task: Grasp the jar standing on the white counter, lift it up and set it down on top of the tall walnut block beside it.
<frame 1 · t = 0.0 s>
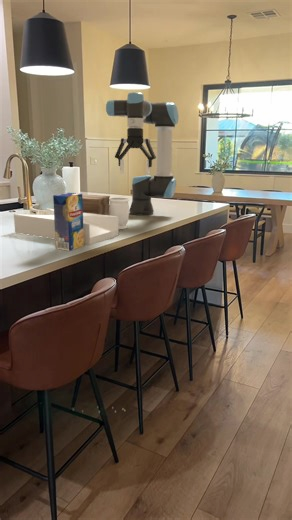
hand: (134, 173, 199), 28 cm above the kitchen island, tool pointing down, fingers open, 13 cm apart
white open tray: (66, 235, 197), on the kitchen island
jar: (119, 228, 212), on the kitchen island
walnut block: (92, 226, 216), on the kitchen island
blue cardboard box: (70, 247, 172), on the kitchen island
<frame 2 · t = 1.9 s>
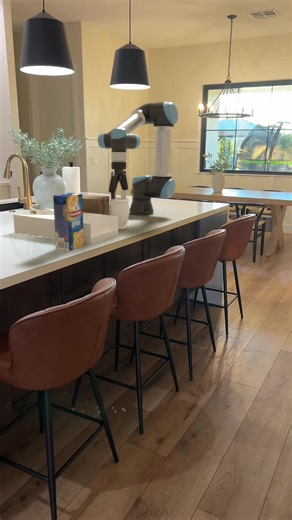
hand: (118, 204, 208), 12 cm above the kitchen island, tool pointing down, fingers open, 13 cm apart
nothing on the kitchen island moved.
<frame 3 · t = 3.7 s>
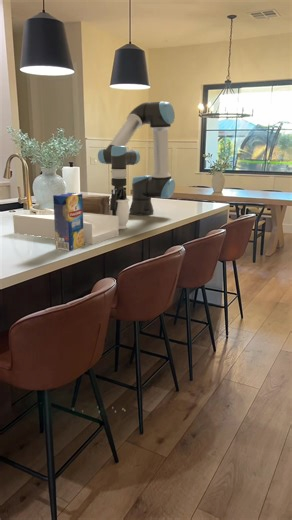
hand: (119, 221, 211), 3 cm above the kitchen island, tool pointing down, fingers closed on jar, 10 cm apart
jar: (119, 228, 212), on the kitchen island, touching gripper
everything else where it was.
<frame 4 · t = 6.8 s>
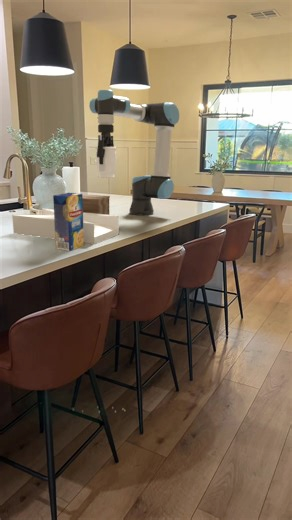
hand: (106, 170, 205), 29 cm above the kitchen island, tool pointing down, fingers closed on jar, 10 cm apart
jar: (106, 177, 207), point 25 cm above the kitchen island, touching gripper
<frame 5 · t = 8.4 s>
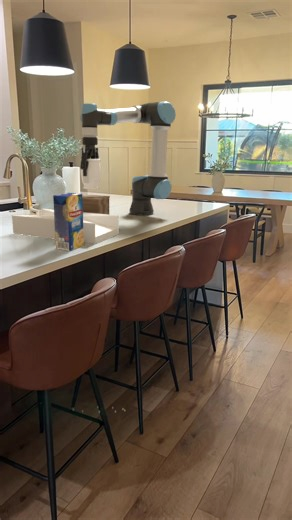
hand: (90, 182, 209), 23 cm above the kitchen island, tool pointing down, fingers closed on jar, 10 cm apart
jar: (91, 189, 210), point 19 cm above the kitchen island, touching gripper
when the fingers open (20 cm above the kitchen island, at t = 10.0 s): jar drops 1 cm, resting on walnut block.
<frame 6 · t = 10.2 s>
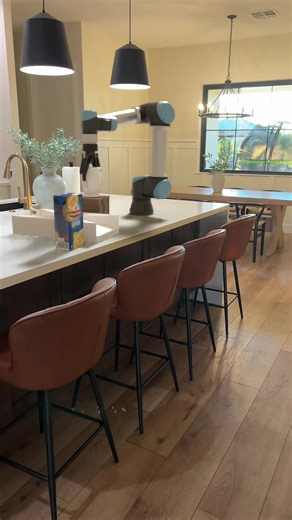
hand: (91, 186, 210), 21 cm above the kitchen island, tool pointing down, fingers open, 13 cm apart
jar: (91, 197, 212), point 15 cm above the kitchen island, touching walnut block
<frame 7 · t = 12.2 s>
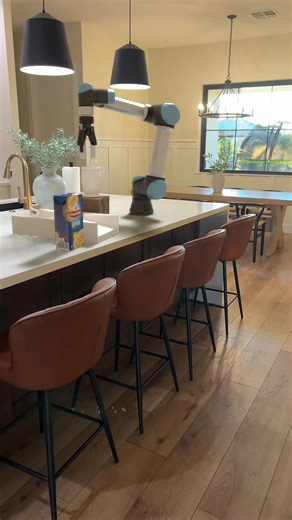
hand: (88, 158, 216), 34 cm above the kitchen island, tool pointing down, fingers open, 13 cm apart
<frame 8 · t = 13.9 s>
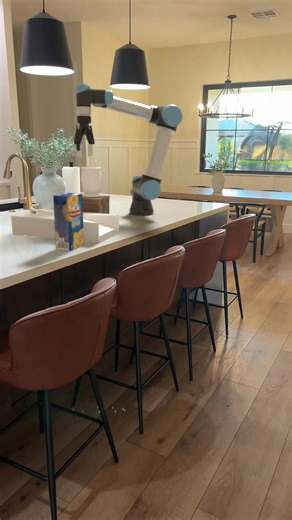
hand: (85, 156, 224), 35 cm above the kitchen island, tool pointing down, fingers open, 13 cm apart
at the end: jar inside the target area on the walnut block (0.6 cm from its centre), point 15.1 cm above the walnut block's base; jar tilted 0°; the gripper is holding nothing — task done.
